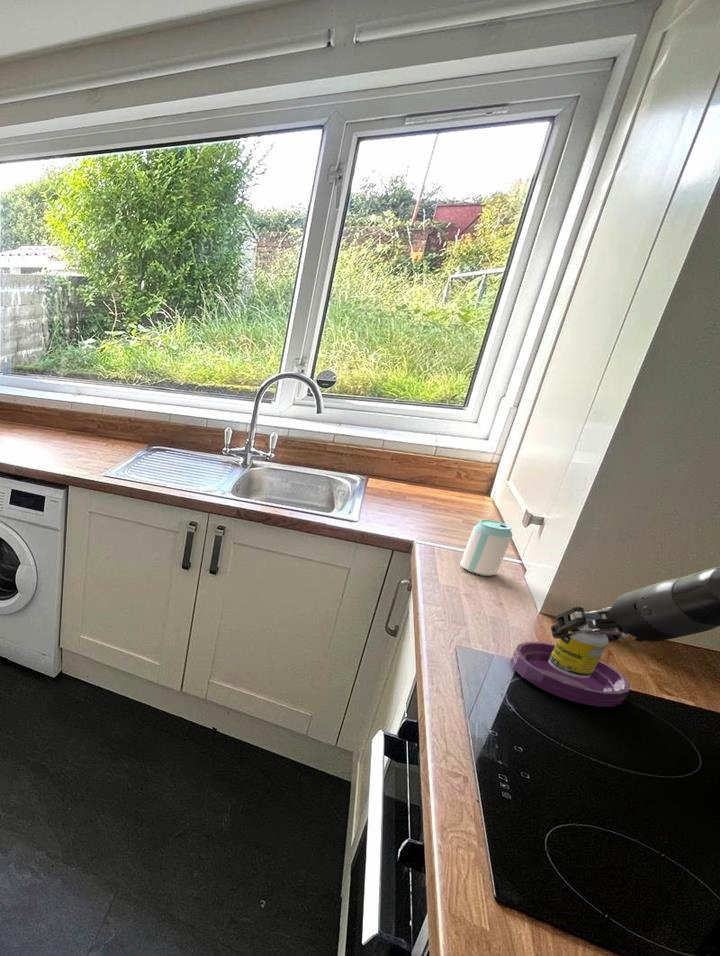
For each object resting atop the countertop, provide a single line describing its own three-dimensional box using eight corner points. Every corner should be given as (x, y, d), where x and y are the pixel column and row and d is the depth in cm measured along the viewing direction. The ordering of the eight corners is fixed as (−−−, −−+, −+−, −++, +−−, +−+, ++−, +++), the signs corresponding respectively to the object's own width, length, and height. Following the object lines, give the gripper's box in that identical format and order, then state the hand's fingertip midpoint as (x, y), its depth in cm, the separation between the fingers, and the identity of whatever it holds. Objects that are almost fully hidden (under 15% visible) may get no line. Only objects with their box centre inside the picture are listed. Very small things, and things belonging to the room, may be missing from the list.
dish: (640, 698, 95) (649, 682, 94) (589, 718, 90) (598, 702, 89) (540, 650, 107) (547, 635, 106) (490, 665, 102) (497, 650, 101)
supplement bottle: (538, 660, 100) (562, 611, 96) (566, 659, 100) (591, 610, 97) (570, 680, 95) (596, 629, 91) (599, 679, 95) (626, 628, 92)
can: (469, 562, 142) (486, 516, 138) (502, 574, 136) (521, 527, 132) (453, 567, 139) (470, 520, 135) (486, 579, 133) (505, 532, 129)
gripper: (723, 590, 82) (618, 619, 97) (606, 577, 84) (522, 607, 100) (739, 642, 79) (629, 664, 94) (618, 628, 81) (530, 651, 97)
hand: (575, 635), depth 97 cm, fingers closed on supplement bottle, 5 cm apart
